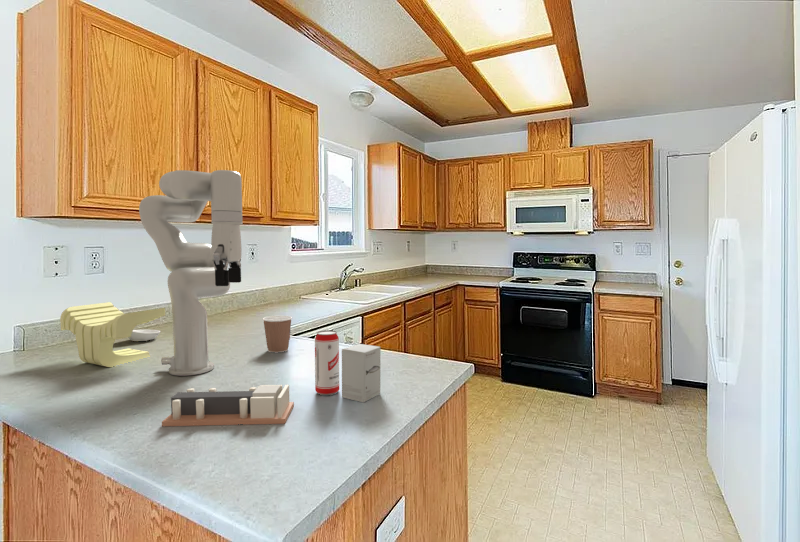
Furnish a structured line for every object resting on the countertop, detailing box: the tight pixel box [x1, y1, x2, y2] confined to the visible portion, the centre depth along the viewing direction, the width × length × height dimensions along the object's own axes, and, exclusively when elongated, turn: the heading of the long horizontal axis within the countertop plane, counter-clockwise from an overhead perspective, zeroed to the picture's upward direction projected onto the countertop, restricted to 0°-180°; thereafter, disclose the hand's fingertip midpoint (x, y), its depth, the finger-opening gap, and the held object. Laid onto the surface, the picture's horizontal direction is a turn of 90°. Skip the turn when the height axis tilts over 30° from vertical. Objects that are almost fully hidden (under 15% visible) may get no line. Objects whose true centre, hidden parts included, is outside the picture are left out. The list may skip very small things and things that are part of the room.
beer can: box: [314, 329, 340, 396], centre depth 112 cm, size 6×6×16 cm
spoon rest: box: [127, 329, 161, 342], centre depth 167 cm, size 24×12×7 cm, turn 146°
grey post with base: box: [170, 384, 282, 415], centre depth 97 cm, size 23×5×5 cm, turn 93°
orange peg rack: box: [161, 384, 295, 427], centre depth 97 cm, size 26×10×6 cm, turn 93°
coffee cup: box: [262, 315, 293, 354], centre depth 155 cm, size 10×10×12 cm
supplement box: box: [341, 343, 382, 404], centre depth 109 cm, size 7×7×13 cm
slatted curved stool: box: [59, 301, 166, 368], centre depth 141 cm, size 30×16×18 cm, turn 64°
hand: (228, 284), depth 113 cm, fingers open, 9 cm apart
